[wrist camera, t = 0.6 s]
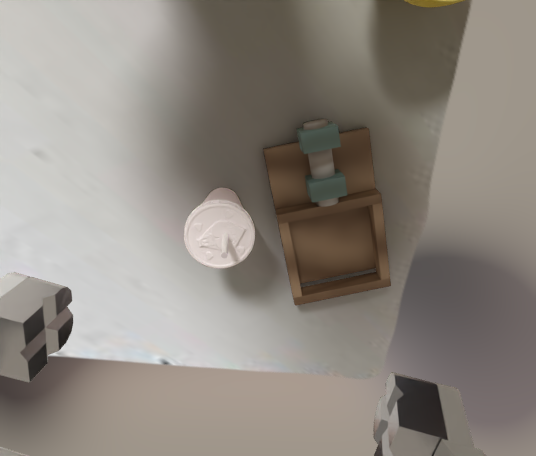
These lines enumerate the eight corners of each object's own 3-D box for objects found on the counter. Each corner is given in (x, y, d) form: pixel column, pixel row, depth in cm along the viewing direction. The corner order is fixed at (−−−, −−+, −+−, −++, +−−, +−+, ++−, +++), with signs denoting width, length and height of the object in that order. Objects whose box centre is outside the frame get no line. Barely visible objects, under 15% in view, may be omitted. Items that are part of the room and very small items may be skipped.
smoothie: (259, 222, 49) (267, 280, 36) (204, 238, 50) (192, 302, 37) (242, 167, 47) (244, 209, 34) (184, 185, 47) (164, 233, 34)
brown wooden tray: (259, 129, 46) (261, 136, 42) (364, 107, 46) (375, 112, 42) (291, 292, 53) (296, 311, 49) (382, 273, 53) (394, 291, 49)
